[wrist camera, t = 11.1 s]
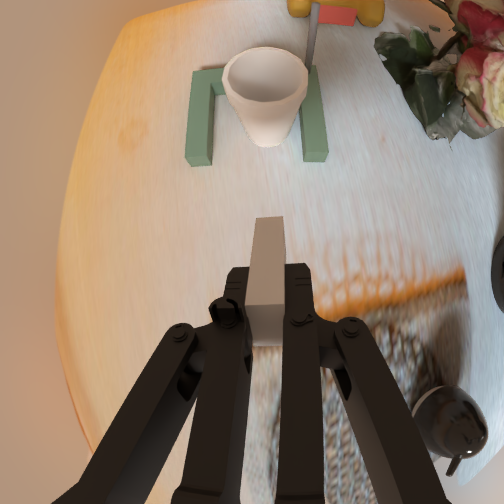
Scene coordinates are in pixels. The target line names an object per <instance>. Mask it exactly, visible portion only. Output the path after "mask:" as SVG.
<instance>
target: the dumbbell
mask: <svg viewBox="0 0 504 504" xmlns="http://www.w3.org/2000/svg"><path fill="white" fill-rule="evenodd" d="M312 2H318V3H320V5H329V6H338V7H347V8H354V9H357V10H358V11H357V14H356V15H357V16H358V18H359V21H360V22H361V23H362V24H363V25H365V26H369V27H377V26H378V25H379V24H380V23H381V22H382V21H383V18H384V11H385V4H384V0H287V7H288V11H289V13H290V15H291V16H292V17H306V16H308V15H309V13H310V12H311V6H312Z"/></svg>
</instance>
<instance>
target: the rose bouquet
mask: <svg viewBox="0 0 504 504" xmlns="http://www.w3.org/2000/svg"><path fill="white" fill-rule="evenodd" d="M429 1H431V2H432V3H433V4H435V5H436V6H438V7H440V8H441V9H443V10H444V11H446V12H447V13H448V15H449V17H450V19H451V20H452V21H453V22H454V24H455V26H454V27H453V28H452V29H453V31H455V32H457V31H458V32H457V33H456V35H455V36H453V37H451V38H450V39H449V40H448V41H447V42H446V43H445V44H444V45H443V47H442V49H441V50H440V51H439V50H438V49H437V48H436V47H434V46H435V45H434V46H433V44H432V42H431V40H430V39H429V34H428V31H427V34H426V33H425V32H423V31H422V30H421V29H420V28H419V27H418V26H410V27H411V33H410V34H409V36H410V42H409V41H408V39H407V38H406V37H405V36H404V34H400V33H398V34H394V33H387V32H385V33H384V34H382V35H381V37H379V38H376V39H375V44H374V48H375V49H376V51H377V53H378V55H379V54H382V55H383V56H384V57H386V58H387V60H385V61H382V60H381V61H382V63H383V64H384V67H385V68H386V69H387V70H388V72H389V73H390V74H391V76H392V77H393V79H394V80H395V82H396V84H399V85H400V86H401V88H402V90H403V92H404V95H405V98H406V100H407V102H408V104H409V106H410V108H411V110H412V112H413V113H414V115H415V116H416V117H417V118H418V120H419V121H420V122H421V123H422V124H423V125H424V127H425V130H426V133H427V135H428V136H429V138H430V139H432V140H435V139H436V140H438V139H439V138H445V137H447V138H448V141H449V144H450V142H451V141H452V139H453V138H454V136H455V135H456V134H457V133H458V132H459V130H461V131H462V132H464V133H465V134H467V135H468V136H470V137H471V138H472V139H479V138H482V137H485V136H487V135H488V134H490V133H492V131H493V132H494V131H495V130H497V129H498V128H500V127H501V126H502V127H504V0H444V1H445V2H442V1H440V0H429ZM385 2H386V1H385ZM429 27H430V29H432V30H433V31H436V32H440V28H438V27H436V26H433V25H429ZM450 30H451V29H450ZM450 30H449V31H450ZM446 54H457V63H456V64H451V63H450V61H449V60H448V58H447V57H446V56H445V55H446ZM379 57H380V56H379ZM380 59H381V58H380ZM449 102H450V104H448V103H449ZM447 104H448V105H447ZM443 113H444V117H442V114H443ZM447 138H446V139H447ZM450 148H451V146H450ZM451 150H452V149H451ZM452 152H453V151H452Z"/></svg>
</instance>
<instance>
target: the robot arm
mask: <svg viewBox="0 0 504 504" xmlns="http://www.w3.org/2000/svg"><path fill="white" fill-rule="evenodd" d="M492 288H493V293H494V297H495V300H496V302H497V305H498V306H499V308H500V309H501V311H502V312H503V313H504V237H503V238H502V239H501V240H500V242H499V243H498V245H497V248H496V250H495V253H494V257H493V263H492ZM208 309H209V312H210V315H211V318H212V320H213V322H211V323H210V324H208V325H205V326H201V327H197V328H193V327H192V326H191V325H190V324H187V323H179V324H175V325H174V326H172V327H170V328H169V330H168V331H167V332H166V333H165V335H164V337H163V338H162V340H161V341H160V343H159V345H158V346H157V348H156V350H155V351H154V353H153V354H152V356H151V358H150V359H149V361H148V363H147V364H146V366H145V368H144V369H143V371H142V372H141V374H140V376H139V377H138V379H137V381H136V382H135V384H134V386H133V387H132V389H131V391H130V392H129V394H128V396H127V397H126V399H125V401H124V403H123V404H122V406H121V408H120V409H119V411H118V413H117V414H116V416H115V418H114V420H113V421H112V423H111V425H110V426H109V428H108V430H107V432H106V433H105V435H104V437H103V439H102V440H101V442H100V444H99V446H98V447H97V449H96V451H95V453H94V455H93V456H92V458H91V460H90V462H89V464H88V465H87V467H86V469H85V471H84V473H83V474H82V476H81V478H80V480H79V482H78V483H76V484H75V485H74V486H73V487H71V488H70V489H69V490H68V491H67V492H65V493H64V494H63V495H61V496H60V497H59V498H58V499H56V500H55V501H54V502H52V503H51V504H144V503H145V501H146V500H147V498H148V496H149V494H150V492H151V490H152V488H153V486H154V484H155V482H156V480H157V478H158V476H159V474H160V472H161V470H162V468H163V466H164V464H165V462H166V460H167V458H168V456H169V454H170V452H171V450H172V447H173V445H174V443H175V441H176V439H177V437H178V435H179V433H180V431H181V429H182V427H183V425H184V423H185V421H186V419H187V417H188V415H189V413H190V411H191V409H192V407H193V404H194V402H195V400H196V398H197V401H196V407H195V412H194V417H193V422H192V427H191V432H190V438H189V443H188V448H187V454H186V459H185V465H184V470H183V476H182V481H181V484H180V486H179V487H178V488H177V489H176V490H175V491H174V493H173V495H172V499H171V504H241V503H240V487H241V477H242V468H243V458H244V448H245V438H246V427H247V417H248V406H249V396H250V385H251V374H252V363H253V353H252V341H253V345H254V346H281V345H283V352H282V390H281V418H280V440H279V459H278V476H277V491H276V498H275V504H325V497H324V446H323V412H322V390H321V373H320V366H321V367H325V368H329V369H330V370H331V373H332V375H333V378H334V381H335V383H336V386H337V389H338V391H339V394H340V396H341V399H342V402H343V404H344V407H345V410H346V413H347V415H348V418H349V421H350V423H351V426H352V429H353V432H354V434H355V437H356V440H357V443H358V446H359V448H360V451H361V454H362V457H363V460H364V463H365V466H366V468H367V471H368V474H369V477H370V480H371V483H372V486H373V489H374V492H375V495H376V498H377V501H378V504H452V503H451V502H449V500H448V499H446V496H445V493H444V490H443V488H442V485H441V483H440V480H439V477H438V475H437V472H436V470H435V467H434V465H433V462H432V460H431V458H430V455H429V453H428V450H427V448H426V446H425V443H424V441H423V439H422V436H421V434H420V432H419V430H418V427H417V425H416V423H415V421H414V419H413V416H412V414H411V412H410V410H409V408H408V406H407V404H406V402H405V399H404V397H403V395H402V393H401V391H400V389H399V387H398V385H397V383H396V381H395V379H394V377H393V375H392V373H391V371H390V369H389V367H388V365H387V363H386V361H385V359H384V357H383V355H382V353H381V351H380V350H379V348H378V346H377V344H376V342H375V340H374V338H373V336H372V334H371V333H370V331H369V329H368V327H367V325H366V324H365V323H364V322H363V321H362V320H360V319H359V318H355V317H345V318H343V319H341V320H339V321H338V322H337V323H336V322H331V321H327V320H324V319H322V318H321V317H319V316H318V315H317V313H316V312H315V309H314V301H313V291H312V282H311V273H310V269H309V268H308V266H307V265H306V264H305V263H295V264H286V247H285V234H284V222H283V216H280V217H266V218H256V223H255V231H254V238H253V246H252V253H251V261H250V267H233V268H232V270H231V271H230V272H229V274H228V276H227V280H226V285H225V290H224V294H223V297H220V298H218V299H216V300H214V301H213V302H212V303H211V304H210V306H209V308H208Z"/></svg>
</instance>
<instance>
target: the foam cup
mask: <svg viewBox="0 0 504 504" xmlns="http://www.w3.org/2000/svg"><path fill="white" fill-rule="evenodd" d="M222 83H223V86H224V90H225V93H226V95H227V98H228V100H229V102H230V104H231V105H232V106H233V107H234V109H235V111H236V113H237V115H238V117H239V119H240V121H241V123H242V125H243V127H244V130H245V132H246V134H247V136H248V138H249V140H251V141H252V142H253V143H254V144H256V145H258V146H261V147H265V148H267V147H276V146H277V145H279V144H281V143H283V142H284V141H285V139H286V138H287V136H288V134H289V132H290V130H291V127H292V125H293V122H294V120H295V117H296V115H297V112H298V110H299V107H300V105H301V103H302V101H303V100H304V98H305V97H306V92H307V86H308V70H307V68H306V67H305V65H304V64H303V62H302V61H301V59H300V58H298V57H297V56H295V55H293V54H292V53H290V52H288V51H287V50H283V49H278V48H273V47H259V48H250V49H248V50H246V51H244V52H241V53H239V54H237V55H235V56H234V57H233V58H232V59H231V60H230V61H229V62H228V63H227V64H226V65H225V67H224V72H223V76H222Z"/></svg>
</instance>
